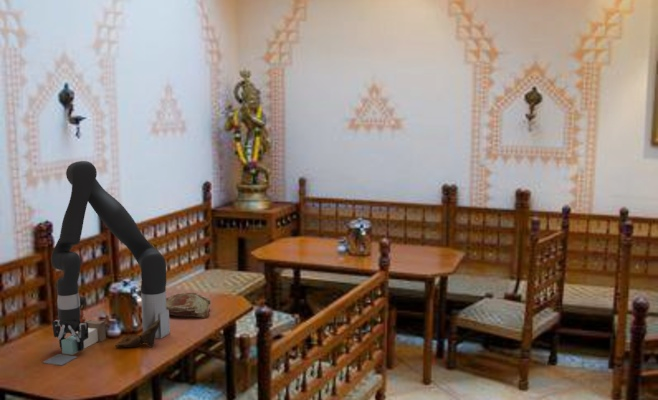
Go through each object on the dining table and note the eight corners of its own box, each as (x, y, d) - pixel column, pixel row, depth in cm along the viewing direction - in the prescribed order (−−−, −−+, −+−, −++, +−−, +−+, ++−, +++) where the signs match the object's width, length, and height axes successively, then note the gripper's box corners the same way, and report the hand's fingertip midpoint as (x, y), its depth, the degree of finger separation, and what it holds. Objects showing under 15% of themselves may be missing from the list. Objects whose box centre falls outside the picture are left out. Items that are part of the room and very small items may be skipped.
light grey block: (105, 339, 273) (104, 321, 272) (85, 349, 261) (84, 331, 260) (89, 336, 275) (88, 319, 274) (69, 347, 264) (67, 329, 263)
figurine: (84, 328, 285) (82, 299, 283) (70, 328, 285) (68, 299, 283) (89, 323, 291) (87, 294, 289) (76, 323, 291) (74, 294, 290)
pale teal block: (81, 350, 261) (80, 337, 261) (72, 355, 257) (71, 341, 256) (71, 348, 263) (70, 335, 262) (62, 353, 258) (61, 340, 258)
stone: (216, 300, 311) (214, 289, 310) (207, 319, 295) (205, 306, 293) (163, 303, 313) (161, 291, 312) (151, 321, 296) (149, 309, 295)
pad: (77, 357, 254) (77, 356, 254) (61, 365, 247) (61, 364, 247) (58, 354, 257) (58, 354, 257) (43, 362, 249) (42, 362, 249)
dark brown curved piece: (153, 319, 260) (115, 318, 263) (151, 349, 258) (113, 347, 262) (163, 319, 268) (126, 318, 271) (161, 347, 266) (124, 346, 270)
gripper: (92, 304, 258) (95, 348, 261) (59, 300, 263) (62, 344, 266) (78, 310, 251) (81, 355, 254) (45, 306, 256) (48, 351, 259)
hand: (71, 349), depth 260 cm, fingers open, 7 cm apart
